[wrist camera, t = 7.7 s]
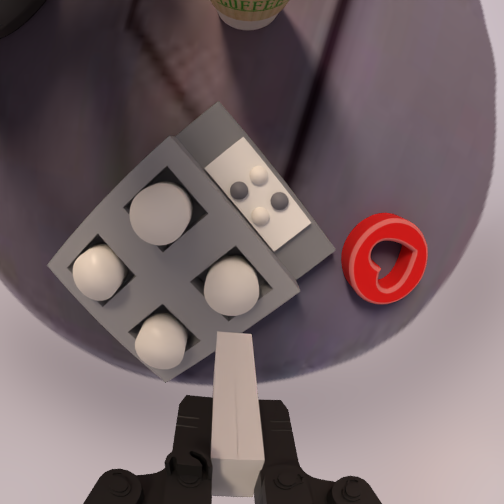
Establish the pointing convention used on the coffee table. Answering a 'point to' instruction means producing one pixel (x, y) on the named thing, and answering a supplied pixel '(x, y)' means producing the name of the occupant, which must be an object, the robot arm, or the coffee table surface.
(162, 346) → the outer button
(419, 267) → the decorative ornament
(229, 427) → the robot arm
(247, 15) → the coffee cup
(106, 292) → the inner button
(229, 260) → the outer button
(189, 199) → the inner button
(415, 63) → the coffee table surface
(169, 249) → the board
